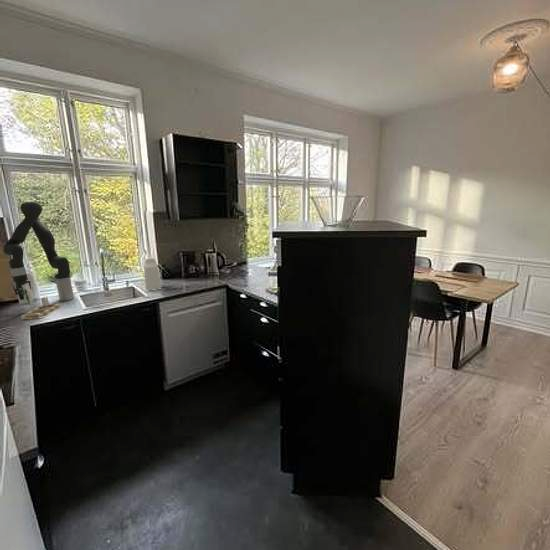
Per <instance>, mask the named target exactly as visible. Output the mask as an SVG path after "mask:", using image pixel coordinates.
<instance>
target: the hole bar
mask: <svg viewBox="0 0 550 550" xmlns="http://www.w3.org/2000/svg"><path fill="white" fill-rule="evenodd" d="M49 307H50V308H46V309H43V305H42V304H40V305H39V306H37V307H35V308H33V309H32V310H30V311H27V312H25V313H24V314H22V315H21V316H20V319H21V321H23V320H22V319H27V320H31V319H30V318H39V317H43V316H45V315H47V314H48V313H50V312H52V311H53V312H54V310H55V311H56V310H59V307H60V308H61V307H62V305H61V303H49ZM53 312H52V313H53ZM34 313H40V314H34ZM50 314H51V313H50ZM48 315H49V314H48ZM48 315H47V316H48ZM45 317H46V316H45ZM43 318H44V317H43Z"/></svg>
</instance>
